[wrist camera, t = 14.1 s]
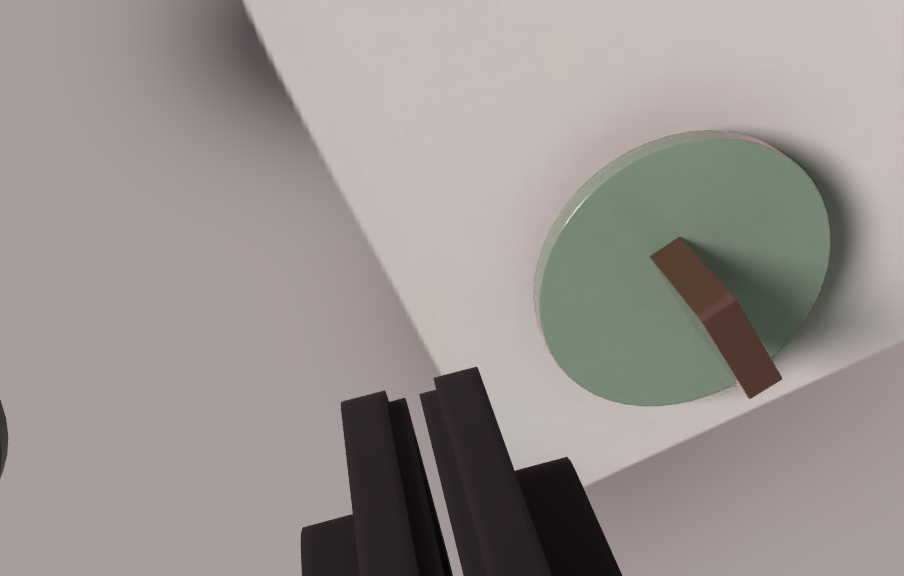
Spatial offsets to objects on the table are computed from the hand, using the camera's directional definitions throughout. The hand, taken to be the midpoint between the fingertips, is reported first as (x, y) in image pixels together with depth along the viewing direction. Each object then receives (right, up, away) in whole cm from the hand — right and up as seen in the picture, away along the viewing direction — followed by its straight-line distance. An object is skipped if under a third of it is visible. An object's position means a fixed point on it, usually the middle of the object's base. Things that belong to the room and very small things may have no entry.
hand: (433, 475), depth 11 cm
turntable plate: (+11, +3, +30) cm, 32 cm away
